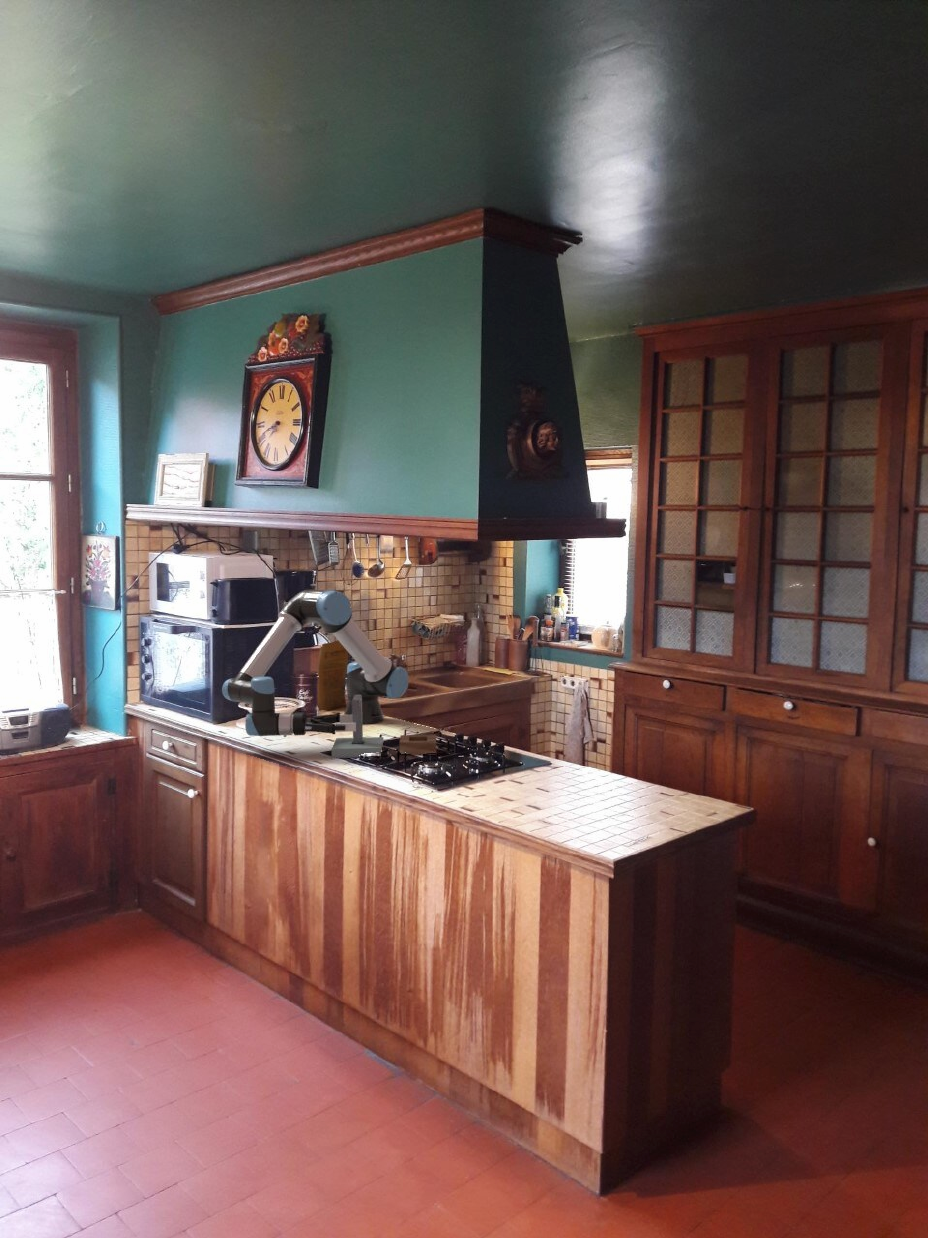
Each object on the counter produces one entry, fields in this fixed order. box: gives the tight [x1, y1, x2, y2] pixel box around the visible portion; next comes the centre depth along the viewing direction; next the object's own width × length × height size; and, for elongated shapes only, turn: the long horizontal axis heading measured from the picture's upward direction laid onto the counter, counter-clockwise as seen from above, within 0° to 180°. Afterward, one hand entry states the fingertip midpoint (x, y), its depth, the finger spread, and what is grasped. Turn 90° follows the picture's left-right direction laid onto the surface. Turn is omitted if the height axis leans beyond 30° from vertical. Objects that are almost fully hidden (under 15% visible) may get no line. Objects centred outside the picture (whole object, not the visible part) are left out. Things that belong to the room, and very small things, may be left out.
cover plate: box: [331, 736, 385, 759], centre depth 332 cm, size 16×16×3 cm
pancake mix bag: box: [317, 639, 349, 711], centre depth 408 cm, size 7×19×28 cm, turn 142°
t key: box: [352, 695, 364, 744], centre depth 331 cm, size 10×3×18 cm, turn 2°
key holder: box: [399, 734, 437, 754], centre depth 332 cm, size 12×12×4 cm
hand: (357, 722), depth 330 cm, fingers open, 13 cm apart
